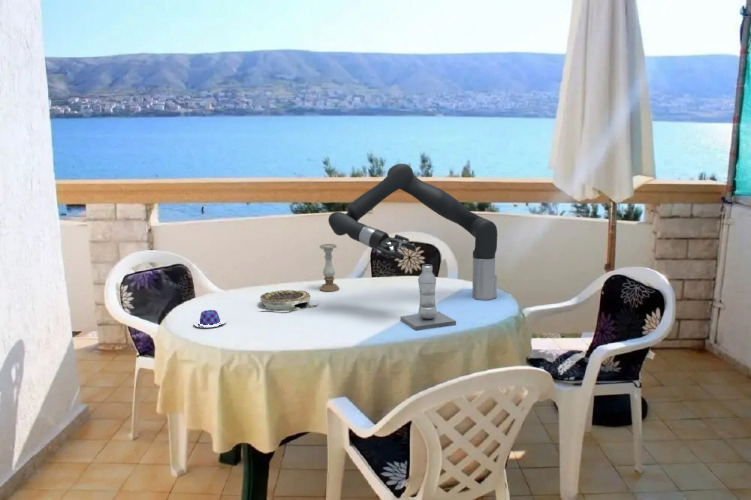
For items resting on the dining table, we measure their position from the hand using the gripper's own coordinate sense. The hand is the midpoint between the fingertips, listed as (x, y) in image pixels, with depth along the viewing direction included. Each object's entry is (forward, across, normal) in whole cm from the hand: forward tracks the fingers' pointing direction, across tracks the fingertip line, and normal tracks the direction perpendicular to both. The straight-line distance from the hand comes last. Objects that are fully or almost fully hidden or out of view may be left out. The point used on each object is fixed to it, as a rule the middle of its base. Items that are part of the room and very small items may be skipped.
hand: (409, 253), depth 242 cm
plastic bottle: (+15, -7, +19) cm, 25 cm away
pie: (-46, -15, +38) cm, 61 cm away
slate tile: (+16, -8, +20) cm, 27 cm away
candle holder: (-44, +13, +44) cm, 63 cm away
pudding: (-53, -51, +31) cm, 80 cm away
